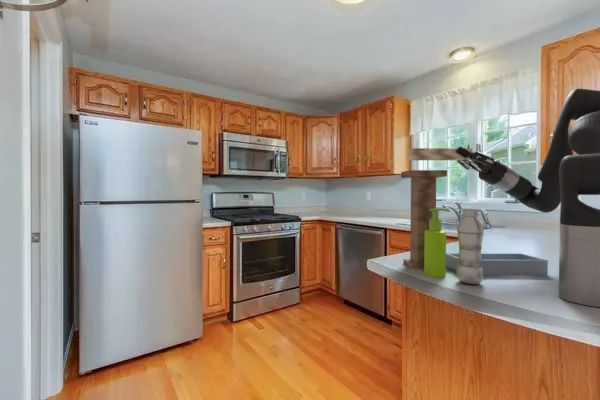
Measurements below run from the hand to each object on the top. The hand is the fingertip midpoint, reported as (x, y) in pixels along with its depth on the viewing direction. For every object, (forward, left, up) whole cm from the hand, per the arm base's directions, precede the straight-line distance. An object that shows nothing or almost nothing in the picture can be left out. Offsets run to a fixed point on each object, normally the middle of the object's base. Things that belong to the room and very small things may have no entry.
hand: (454, 150), depth 99 cm
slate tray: (-11, -1, -39) cm, 41 cm away
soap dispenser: (+3, +15, -39) cm, 42 cm away
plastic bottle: (-6, +19, -39) cm, 44 cm away
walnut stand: (+9, +6, -39) cm, 40 cm away
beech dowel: (+4, +3, -3) cm, 6 cm away
